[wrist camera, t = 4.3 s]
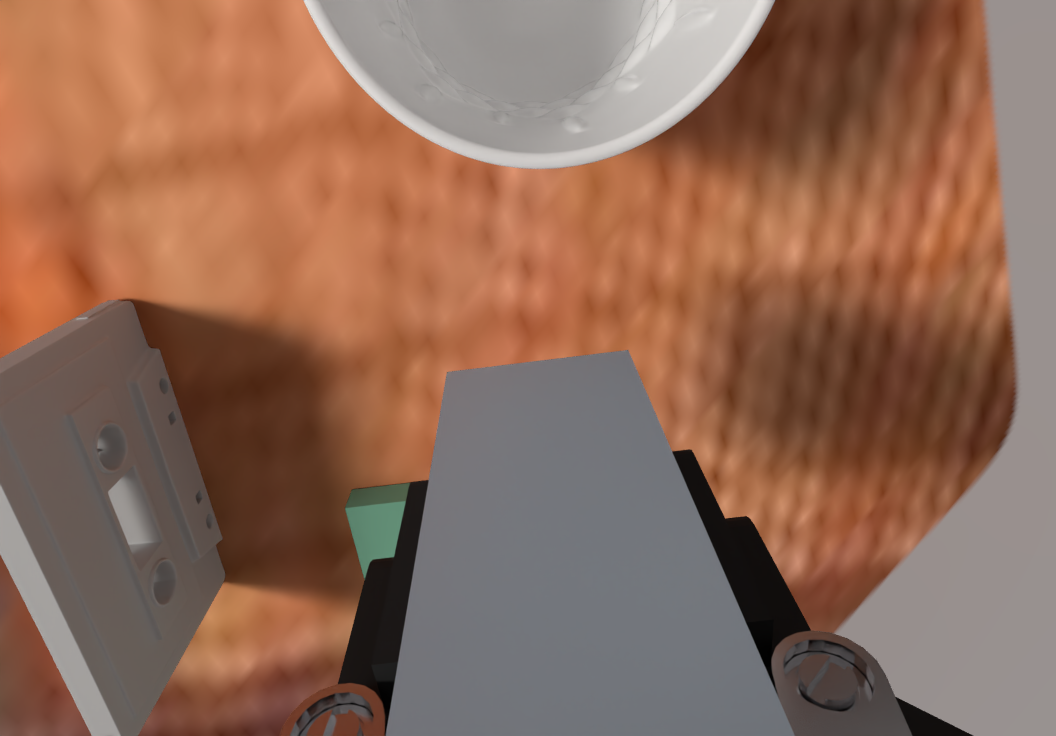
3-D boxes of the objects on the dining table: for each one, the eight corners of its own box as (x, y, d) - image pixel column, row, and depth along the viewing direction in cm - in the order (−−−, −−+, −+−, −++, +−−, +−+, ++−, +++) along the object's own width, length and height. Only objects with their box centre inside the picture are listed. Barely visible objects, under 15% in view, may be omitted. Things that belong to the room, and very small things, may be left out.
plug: (447, 372, 13) (358, 900, 5) (628, 350, 13) (843, 848, 5) (489, 597, 16) (477, 1189, 7) (640, 579, 16) (794, 1156, 7)
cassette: (91, 299, 22) (-102, 400, 15) (147, 294, 22) (-20, 392, 15) (194, 581, 27) (84, 757, 20) (239, 576, 27) (146, 751, 20)
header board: (351, 489, 25) (333, 539, 22) (663, 452, 25) (683, 497, 22) (410, 709, 30) (400, 773, 27) (671, 679, 30) (689, 740, 27)
